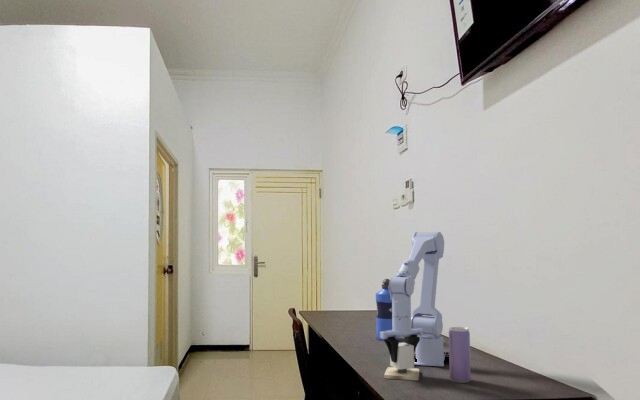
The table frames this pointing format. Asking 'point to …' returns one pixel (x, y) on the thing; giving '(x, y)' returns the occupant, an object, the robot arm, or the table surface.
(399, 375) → the beige square base
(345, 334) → the table surface
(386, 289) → the water bottle
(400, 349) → the white rectangular block
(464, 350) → the beverage can
